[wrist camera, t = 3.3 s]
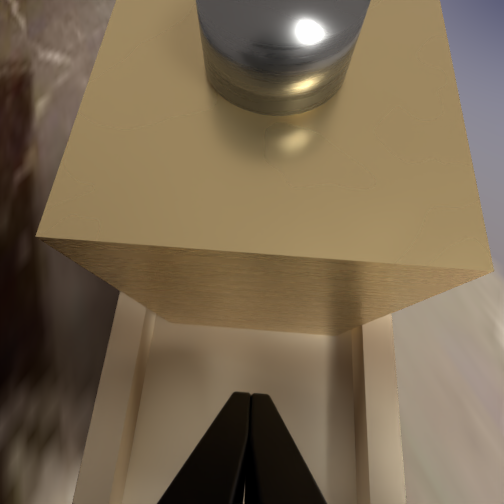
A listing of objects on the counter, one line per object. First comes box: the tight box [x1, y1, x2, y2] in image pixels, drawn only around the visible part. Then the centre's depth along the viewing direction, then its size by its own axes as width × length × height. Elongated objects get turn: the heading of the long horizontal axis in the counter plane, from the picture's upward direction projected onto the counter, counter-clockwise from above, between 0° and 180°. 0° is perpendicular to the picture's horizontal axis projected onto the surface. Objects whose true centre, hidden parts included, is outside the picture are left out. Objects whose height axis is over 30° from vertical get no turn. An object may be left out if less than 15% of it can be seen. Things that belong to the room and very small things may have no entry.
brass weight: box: [35, 0, 494, 336], centre depth 9 cm, size 7×6×9 cm
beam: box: [72, 291, 406, 504], centre depth 13 cm, size 23×10×3 cm, turn 176°
